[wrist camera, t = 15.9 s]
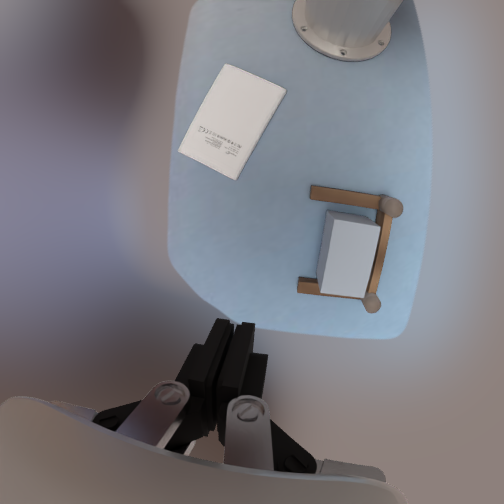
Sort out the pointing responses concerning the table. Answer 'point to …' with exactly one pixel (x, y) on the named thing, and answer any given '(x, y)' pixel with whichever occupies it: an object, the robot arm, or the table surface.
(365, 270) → the tall white block
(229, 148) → the external hard drive
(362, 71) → the table surface
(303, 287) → the frame
